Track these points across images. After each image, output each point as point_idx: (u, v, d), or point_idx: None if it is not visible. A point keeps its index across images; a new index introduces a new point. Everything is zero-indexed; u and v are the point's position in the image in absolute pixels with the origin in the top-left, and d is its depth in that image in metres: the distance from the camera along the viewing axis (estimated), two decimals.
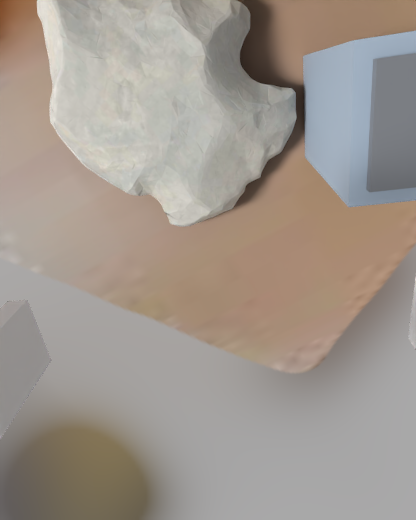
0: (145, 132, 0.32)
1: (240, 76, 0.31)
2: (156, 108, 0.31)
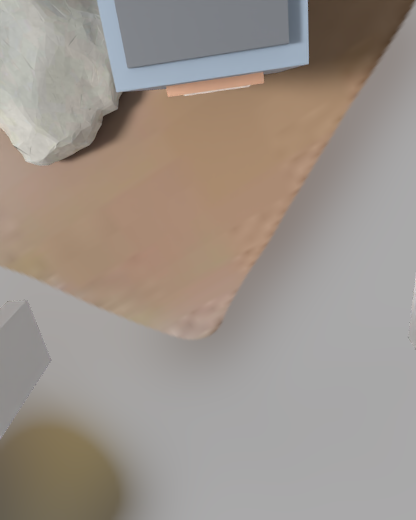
0: None
1: None
2: None
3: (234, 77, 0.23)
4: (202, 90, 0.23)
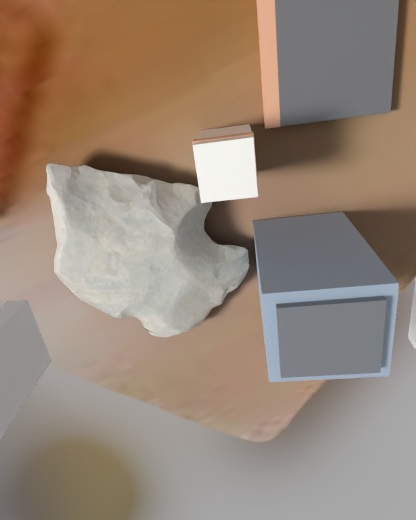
0: (128, 283, 0.41)
1: (203, 243, 0.41)
2: (137, 270, 0.40)
3: None
4: None
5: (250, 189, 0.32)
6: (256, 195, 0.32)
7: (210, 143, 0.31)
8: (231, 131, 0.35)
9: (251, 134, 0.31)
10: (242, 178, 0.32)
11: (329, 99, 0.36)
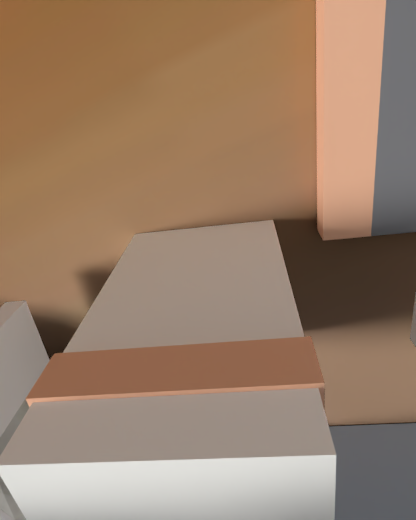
0: None
1: None
2: None
3: None
4: None
5: None
6: None
7: (90, 463, 0.06)
8: (217, 278, 0.10)
9: (311, 383, 0.06)
10: None
11: None
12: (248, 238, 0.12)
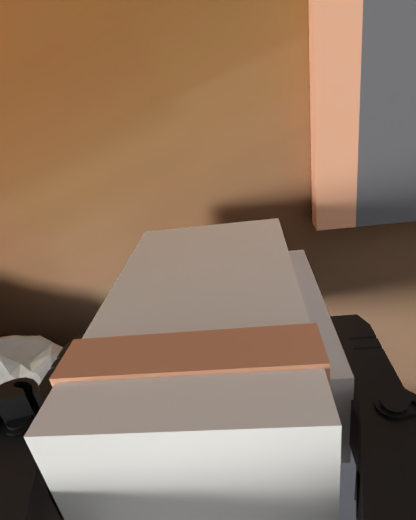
0: None
1: None
2: None
3: None
4: None
5: None
6: None
7: (112, 434, 0.06)
8: (226, 272, 0.10)
9: (317, 364, 0.07)
10: None
11: None
12: (255, 235, 0.12)
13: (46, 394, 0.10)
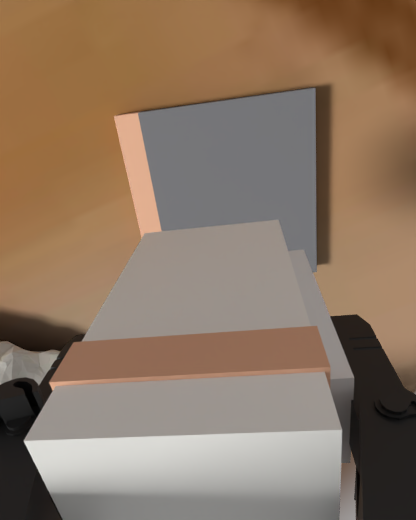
0: None
1: None
2: None
3: None
4: None
5: None
6: None
7: (112, 438, 0.06)
8: (226, 274, 0.10)
9: (318, 367, 0.07)
10: None
11: None
12: (255, 237, 0.12)
13: (46, 394, 0.10)
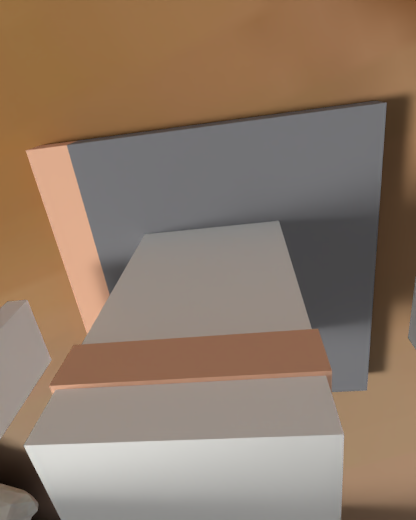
0: None
1: None
2: None
3: None
4: None
5: None
6: None
7: (113, 443, 0.06)
8: (226, 275, 0.10)
9: (319, 370, 0.07)
10: None
11: None
12: (255, 238, 0.12)
13: None
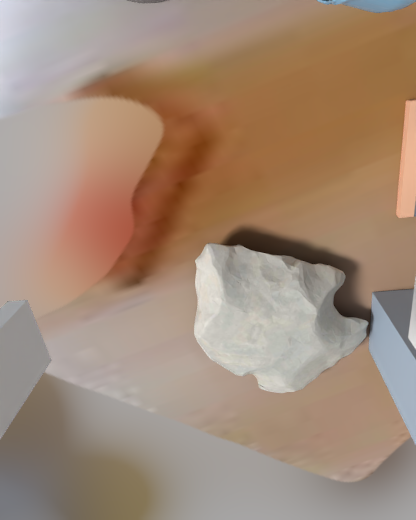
0: (264, 350, 0.44)
1: (334, 317, 0.45)
2: (276, 340, 0.43)
3: None
4: None
5: None
6: None
7: None
8: None
9: None
10: None
11: None
12: None
13: None
